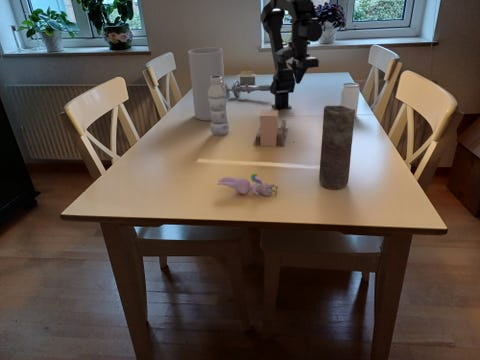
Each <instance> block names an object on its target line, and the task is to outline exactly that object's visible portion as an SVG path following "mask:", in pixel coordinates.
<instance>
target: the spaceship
mask: <svg viewBox="0 0 480 360" xmlns="http://www.w3.org/2000/svg"><path fill="white" fill-rule="evenodd" d="M224 83H225V82H224ZM229 85H230V83H227V82H226V83H225V89H226V92H227V97H228V96H229V97H230V96H231V93H233V97H235V98H236V99H238V98H240V96H241V93H247V94H251V92H256V91H261V92H270V86H271V84H270V85H269V84H262V85H261V84H260V85H252V84H240V80H238V79H237V80H236V79H235V80H234V82H233V85H232V86H230V87H229ZM230 92H231V93H230Z"/></svg>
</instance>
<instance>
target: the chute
mask: <svg viewBox="0 0 480 360" xmlns="http://www.w3.org/2000/svg"><path fill="white" fill-rule="evenodd" d="M286 125H287V120H286V119H282V120H281V124H280V127H278V137H277V146H276V147H279V148H281V147H282V148H285V145H286V143H287V142H286V141H287V137H288V132H289V128H288V127H287V126H286ZM286 127H287V128H286ZM252 146H254V147H255V146H259V147H261V146H260V127H259V128H258V130H257V133H256V135H255V139H254V142H253V144H252ZM276 147H275V148H276Z"/></svg>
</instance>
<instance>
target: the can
mask: <svg viewBox="0 0 480 360" xmlns="http://www.w3.org/2000/svg"><path fill="white" fill-rule="evenodd" d="M359 98H360V84H358V83H354V82H346V83H343V84H342V87H341V92H340V98H339V99H340V100H339V106H344V107H346V108H349V109H354V110H355V118H356V117H357V115H358V114H357V113H358V106H359V100H360V99H359Z"/></svg>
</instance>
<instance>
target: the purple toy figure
mask: <svg viewBox="0 0 480 360" xmlns="http://www.w3.org/2000/svg"><path fill="white" fill-rule="evenodd" d="M257 176H258V173H253V174H251V176H250V180H251V181H252V182H253V183H254V184H252V185H251V183H250V180H248V179H247V178H245V177H238V178H235V177H231V176H225V177H223V178H221V179H218V183H217V184H216V185H218V186H220V185H221V186H226V187H228V188H231V189H234V190H235V191H236V192H237V193H240V194H242V195H247V194H248V193H249V192H250V191H252V192H253V193H254V194H255V195H257V196H259V194H261V195H263V196H265V197H269V196H271V194H272V193H273V192H274V195H275V197H277V194H278V186H279V185H275V184H268V183H267V182H263V181H262V180H261V179H260V178H259V177H257ZM273 188H275V190H274V189H273Z"/></svg>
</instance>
